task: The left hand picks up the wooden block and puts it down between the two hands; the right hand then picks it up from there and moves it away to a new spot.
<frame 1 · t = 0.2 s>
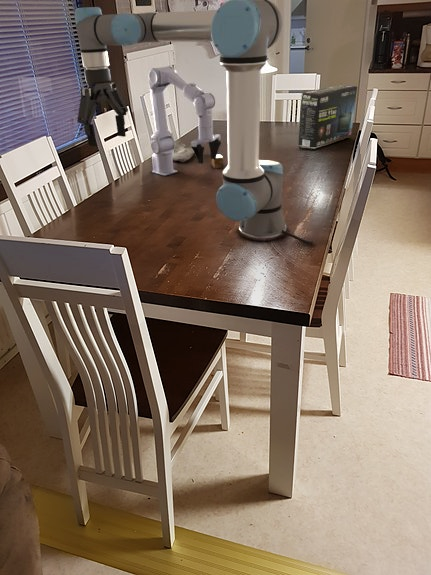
left hand: (207, 160, 188), 10 cm above the table, tool pointing down, fingers open, 7 cm apart
right hand: (107, 140, 147), 28 cm above the table, tool pointing down, fingers open, 13 cm apart
fossil: (178, 158, 230), on the table
block: (217, 166, 215), on the table
router box: (325, 143, 245), on the table
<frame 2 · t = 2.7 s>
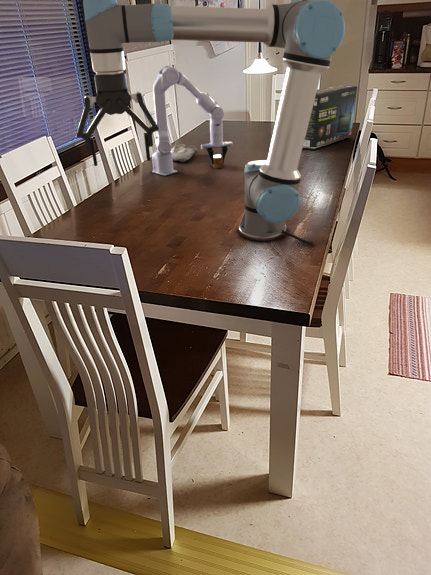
left hand: (217, 163, 214), 1 cm above the table, tool pointing down, fingers closed on block, 4 cm apart
right hand: (122, 162, 119), 30 cm above the table, tool pointing down, fingers open, 13 cm apart
block: (217, 166, 215), on the table, touching left hand
everything else where it was.
when the left hand's fingers open (2 cm above the table, at t = 6.3 s): block stays where it is, on the table.
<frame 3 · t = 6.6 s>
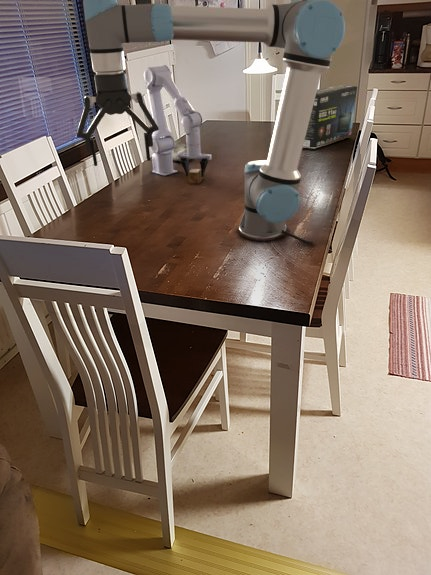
left hand: (195, 176, 196), 2 cm above the table, tool pointing down, fingers open, 6 cm apart
right hand: (122, 162, 119), 30 cm above the table, tool pointing down, fingers open, 13 cm apart
block: (195, 181, 197), on the table
everything else where it was.
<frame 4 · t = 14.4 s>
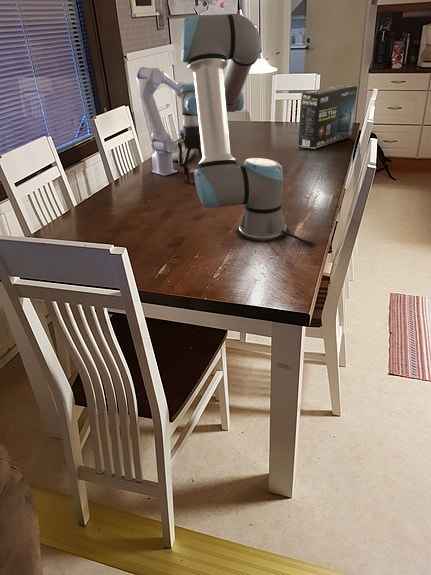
left hand: (194, 149, 218), 7 cm above the table, tool pointing down, fingers open, 7 cm apart
right hand: (195, 180, 197), 0 cm above the table, tool pointing down, fingers closed on block, 6 cm apart
block: (195, 181, 197), on the table, touching right hand
everything else where it was.
when the right hand's fingers open (1 cm above the table, at t = 17.6 s): block stays where it is, on the table.
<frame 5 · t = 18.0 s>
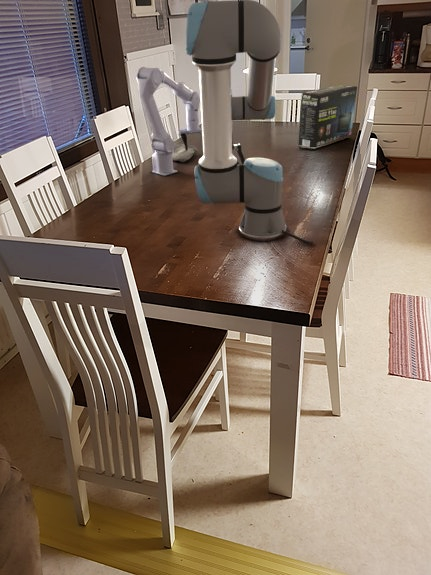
left hand: (194, 149, 218), 7 cm above the table, tool pointing down, fingers open, 7 cm apart
right hand: (223, 188, 180), 2 cm above the table, tool pointing down, fingers open, 11 cm apart
block: (224, 194, 181), on the table
everything else where it was.
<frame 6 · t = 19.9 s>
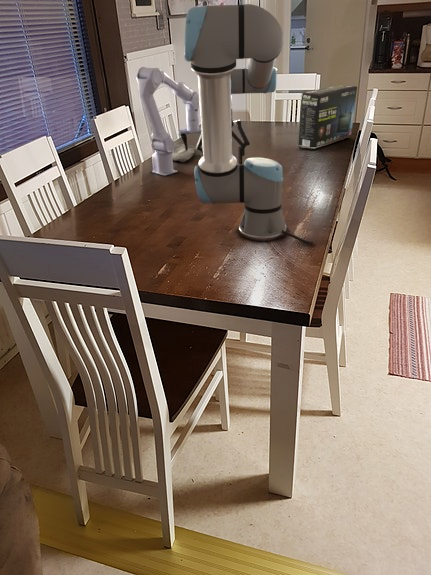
left hand: (194, 149, 218), 7 cm above the table, tool pointing down, fingers open, 7 cm apart
right hand: (223, 166, 176), 11 cm above the table, tool pointing down, fingers open, 13 cm apart
nothing on the table moved.
at the end: block inside the target area (0.1 cm from its centre), on the table; block tilted 0°; the two hands never held the block at the same time; the left hand is holding nothing; the right hand is holding nothing; block at rest at the end (0.0 cm/s) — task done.
